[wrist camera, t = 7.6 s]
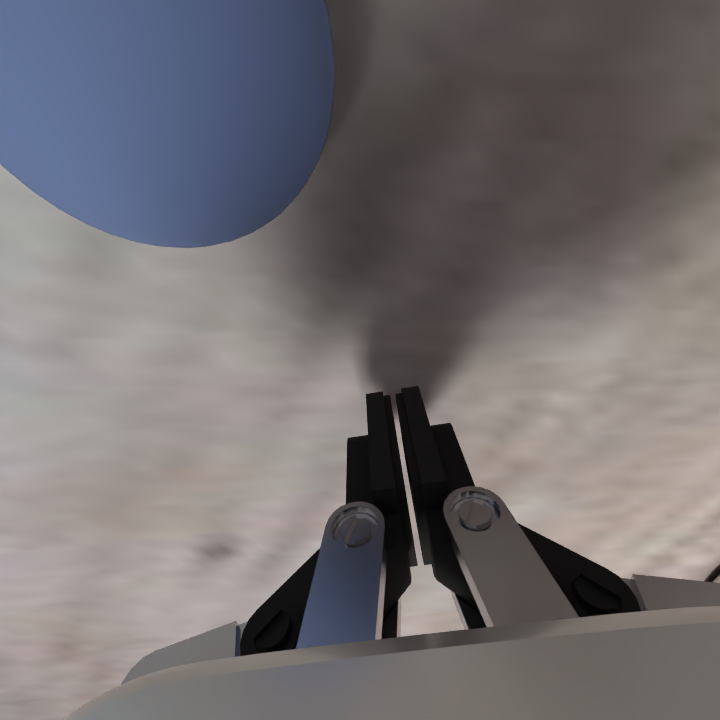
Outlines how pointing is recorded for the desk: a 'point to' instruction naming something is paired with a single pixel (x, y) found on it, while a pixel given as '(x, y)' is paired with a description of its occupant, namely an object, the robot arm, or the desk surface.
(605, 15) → the desk surface
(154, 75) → the ball
